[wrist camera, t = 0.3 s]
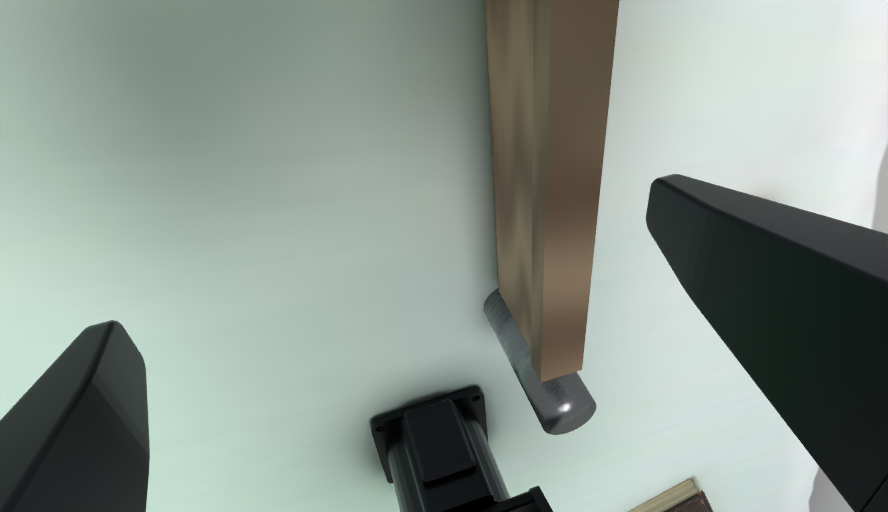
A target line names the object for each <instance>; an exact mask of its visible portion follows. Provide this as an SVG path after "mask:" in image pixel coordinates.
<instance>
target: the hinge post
mask: <svg viewBox="0 0 888 512" xmlns="http://www.w3.org/2000/svg"><path fill="white" fill-rule="evenodd" d="M484 311H485V314H486V316H487V318H488V320H489V322H490V324H491V326H492V328H493V330H494V332H495V334H496V336H497V338H498V340H499V342H500V344H501V346H502V348H503V350H504V352H505V354H506V356H507V358H508V360H509V362H510V364H511V366H512V368H513V370H514V372H515V374H516V376H517V378H518V380H519V382H520V384H521V386H522V388H523V390H524V391H525V393H526V395H527V397H528V399H529V401H530V403H531V405H532V407H533V409H534V411H535V413H536V415H537V417H538V419H539V421H540V423H541V425H542V427H543V429H544V431H545V432H546V433H548V434H552V435H559V434H565V433H568V432H571V431H573V430H575V429H577V428H579V427H581V426H582V425H583V424H585V423H586V422H587V421H588V420H589V419H590V418H591V417H592V416H593V414H594V412H595V410H596V403H595V401H594V400H593V398H592V396H591V395H590V393H589V391H588V390H587V388H586V386H585V385H584V383H583V381H582V380H581V378H580V376H579V375H578V373H577V372H573V373H570V374H567V375H564V376H561V377H557V378H554V379H551V380H548V381H545V382H542V383H541V382H540V380H539V378H538V376H537V374H536V373H535V371H534V369H533V367H532V365H531V349H530V347H529V345H528V344H527V342H526V340H525V338H524V336H523V334H522V333H521V331H520V329H519V327H518V325H517V324H516V322H515V320H514V318H513V316H512V314H511V313H510V311H509V309H508V307H507V305H506V303H505V302H504V300H503V298H502V296H501V294H500V293H499V289H497V290H496V291H494V292H493V293H492V294H491V295H490V296H489V297H488V299H487V300H486V302H485V306H484Z"/></svg>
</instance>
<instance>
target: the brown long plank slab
mask: <svg viewBox="0 0 888 512" xmlns="http://www.w3.org/2000/svg"><path fill="white" fill-rule="evenodd" d="M485 1H486V23H487V45H488V67H489V89H490V110H491V132H492V154H493V176H494V198H495V220H496V242H497V263H498V285H499V293H500V294H501V296H502V298H503V300H504V302H505V303H506V305H507V307H508V309H509V311H510V313H511V314H512V316H513V318H514V320H515V322H516V324H517V325H518V327H519V329H520V331H521V333H522V334H523V336H524V338H525V340H526V342H527V344H528V345H529V347H530V349H531V365H532V367H533V369H534V371H535V373H536V374H537V376H538V378H539V380H540V382H541V383H542V382H545V381H548V380H551V379H554V378H557V377H561V376H564V375H567V374H570V373H573V372H576V371H579V370H582V363H583V353H584V343H585V333H586V323H587V313H588V303H589V293H590V284H591V274H592V264H593V254H594V244H595V234H596V224H597V214H598V204H599V195H600V185H601V175H602V165H603V155H604V145H605V135H606V125H607V115H608V106H609V96H610V86H611V76H612V66H613V56H614V46H615V36H616V26H617V16H618V7H619V0H485Z"/></svg>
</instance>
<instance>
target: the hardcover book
mask: <svg viewBox="0 0 888 512" xmlns="http://www.w3.org/2000/svg"><path fill="white" fill-rule="evenodd" d="M629 512H713V511H712V508H711V506H710V504H709V502H708V500H707V498H706V496H705V493H704V492H703V490H702V491H700V492H699V490H697V488H696V487H695V486H694V484H693V482H692V480H691V479H690V478H689V479H687V480H686V481H684V482H682V483H680V484H678V485H676V486H675V487H673V488H671V489H669V490H667V491H666V492H664V493H662V494H660V495H658V496H656V497H655V498H653V499H651V500H649V501H647V502H645V503H644V504H642V505H640V506H638V507H636V508H634V509H633V510H631V511H629Z"/></svg>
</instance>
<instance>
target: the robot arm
mask: <svg viewBox="0 0 888 512" xmlns="http://www.w3.org/2000/svg"><path fill="white" fill-rule="evenodd" d="M646 223H647V227H648V229H649V231H650V233H651V235H652V237H653V238H654V240H655V241H656V243H657V245H658V246H659V248H660V250H661V251H662V253H663V255H664V256H665V258H666V260H667V261H668V263H669V265H670V266H671V268H672V270H673V271H674V273H675V275H676V276H677V278H678V280H679V281H680V283H681V285H682V286H683V288H684V289H685V291H686V292H687V294H688V295H689V297H690V298H691V299H692V301H693V302H694V304H695V305H696V306H697V308H698V309H699V310H700V312H701V313H702V314H703V315H704V317H705V318H706V319H707V321H708V322H709V323H710V325H711V326H712V327H713V328H714V330H715V331H716V332H717V334H718V335H719V336H720V338H721V339H722V340H723V341H724V343H725V344H726V345H727V347H728V348H729V349H730V351H731V352H732V353H733V354H734V356H735V357H736V358H737V360H738V361H739V362H740V364H741V365H742V366H743V368H744V369H745V370H746V371H747V373H748V374H749V375H750V377H751V378H752V379H753V381H754V382H755V383H756V384H757V386H758V387H759V388H760V390H761V391H762V392H763V394H764V395H765V396H766V397H767V399H768V400H769V401H770V403H771V404H772V405H773V407H774V408H775V409H776V410H777V412H778V413H779V414H780V416H781V417H782V418H783V420H784V421H785V422H786V424H787V425H788V426H789V427H790V429H791V430H792V431H793V433H794V434H795V435H796V437H797V438H798V439H799V440H800V442H801V443H802V444H803V446H804V447H805V448H806V450H807V451H808V452H809V453H810V455H811V456H812V457H813V459H814V460H815V461H816V463H817V464H818V465H819V467H820V468H821V469H822V470H823V472H824V473H825V474H826V476H827V477H828V478H829V480H830V481H831V482H832V483H833V485H834V486H835V487H836V488H837V490H838V491H839V493H840V494H841V495H842V496H843V498H844V499H845V500H846V502H847V503H848V504H849V506H850V507H851V508H852V509H853V511H854V512H888V234H886V233H883V232H879V231H876V230H872V229H868V228H865V227H861V226H858V225H854V224H851V223H847V222H844V221H840V220H837V219H833V218H830V217H826V216H823V215H819V214H816V213H812V212H809V211H805V210H802V209H798V208H795V207H791V206H788V205H784V204H781V203H777V202H774V201H770V200H767V199H763V198H760V197H756V196H753V195H749V194H746V193H742V192H739V191H735V190H732V189H728V188H725V187H721V186H718V185H714V184H711V183H707V182H704V181H700V180H697V179H693V178H690V177H686V176H683V175H679V174H672V175H668V176H664V177H660V178H657V179H655V180H654V181H653V183H652V184H651V188H650V194H649V201H648V207H647V213H646ZM370 428H371V432H372V435H373V438H374V441H375V444H376V447H377V450H378V453H379V457H380V460H381V463H382V466H383V469H384V472H385V475H386V478H387V481H388V482H389V483H394V487H395V491H396V495H397V499H398V503H399V507H400V511H401V512H553V511H552V509H551V507H550V505H549V503H548V502H547V500H546V498H545V496H544V494H543V493H542V491H541V489H540V487H539V486H536V487H533V488H531V489H529V491H528V492H525V493H523V494H520V495H517V496H515V497H512V498H510V496H509V493H508V491H507V488H506V486H505V484H504V481H503V479H502V476H501V474H500V471H499V469H498V466H497V464H496V461H495V459H494V457H493V454H492V452H491V449H490V447H489V444H488V437H487V425H486V413H485V401H484V394H483V392H482V390H481V388H479V387H473V388H470V389H467V390H463V391H460V392H457V393H454V394H451V395H448V396H444V397H441V398H438V399H435V400H432V401H429V402H425V403H422V404H419V405H416V406H413V407H409V408H406V409H403V410H400V411H397V412H394V413H390V414H387V415H384V416H381V417H378V418H375V419H373V420H372V421H371V423H370ZM149 459H150V450H149V425H148V405H147V385H146V368H145V363H144V360H143V357H142V355H141V353H140V352H139V350H138V349H137V347H136V346H135V344H134V343H133V341H132V339H131V338H130V336H129V335H128V333H127V332H126V330H125V329H124V327H123V326H122V325H121V324H120V323H119V322H118V321H114V320H111V321H107V322H103V323H99V324H96V325H92V326H89V327H87V328H86V329H84V330H83V331H82V332H81V334H80V335H79V336H78V337H77V338H76V339H75V340H74V341H73V342H72V343H71V344H70V345H69V347H68V348H67V349H66V350H65V351H64V352H63V353H62V354H61V355H60V356H59V357H58V358H57V360H56V361H55V362H54V363H53V364H52V365H51V366H50V367H49V368H48V369H47V370H46V371H45V373H44V374H43V375H42V376H41V377H40V378H39V379H38V380H37V381H36V382H35V383H34V384H33V386H32V387H31V388H30V389H29V390H28V391H27V392H26V393H25V394H24V395H23V396H22V397H21V399H20V400H19V401H18V402H17V403H16V404H15V405H14V406H13V407H12V408H11V409H10V410H9V412H8V413H7V414H6V415H5V416H4V417H3V418H2V419H1V420H0V512H146V501H147V488H148V476H149Z"/></svg>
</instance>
